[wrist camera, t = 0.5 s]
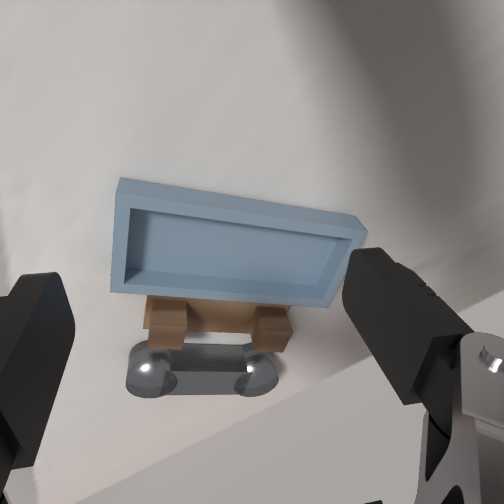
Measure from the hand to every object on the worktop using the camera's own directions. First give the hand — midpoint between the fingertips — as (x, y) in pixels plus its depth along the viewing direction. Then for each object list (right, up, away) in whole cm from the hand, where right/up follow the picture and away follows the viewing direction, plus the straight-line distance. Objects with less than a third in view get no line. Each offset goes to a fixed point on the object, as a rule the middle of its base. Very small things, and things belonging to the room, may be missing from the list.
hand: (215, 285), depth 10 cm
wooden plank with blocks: (-2, -5, +25) cm, 26 cm away
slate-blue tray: (0, +2, +21) cm, 21 cm away
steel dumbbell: (-4, -11, +29) cm, 31 cm away
